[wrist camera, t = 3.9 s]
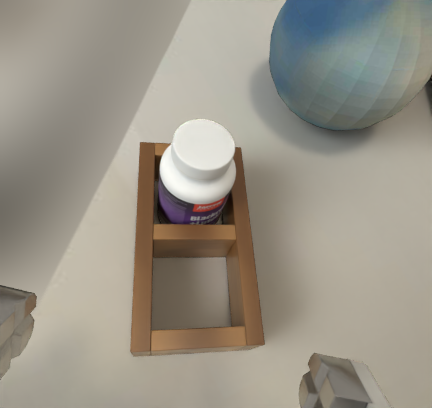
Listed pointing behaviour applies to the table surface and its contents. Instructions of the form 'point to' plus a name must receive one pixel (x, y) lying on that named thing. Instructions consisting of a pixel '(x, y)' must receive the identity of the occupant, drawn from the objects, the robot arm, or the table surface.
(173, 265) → the table surface
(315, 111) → the decorative ball
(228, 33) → the table surface
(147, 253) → the rack
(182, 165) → the pill bottle
